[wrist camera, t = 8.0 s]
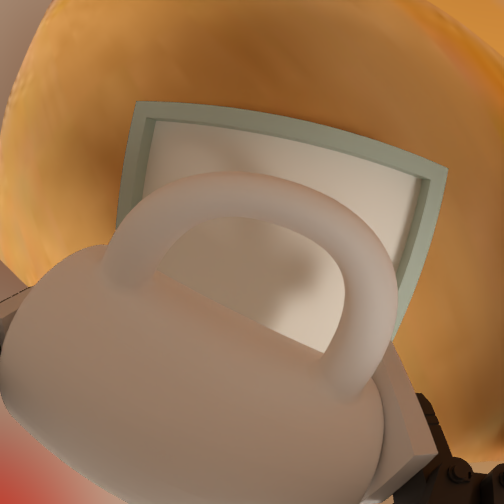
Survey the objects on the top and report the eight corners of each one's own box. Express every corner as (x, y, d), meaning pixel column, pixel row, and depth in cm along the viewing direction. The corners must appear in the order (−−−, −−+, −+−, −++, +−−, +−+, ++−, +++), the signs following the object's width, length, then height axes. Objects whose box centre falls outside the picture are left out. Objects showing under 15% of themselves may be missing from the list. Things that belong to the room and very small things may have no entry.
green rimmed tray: (404, 170, 19) (448, 168, 12) (338, 366, 24) (346, 422, 17) (183, 120, 21) (136, 101, 14) (155, 316, 26) (115, 356, 19)
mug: (274, 436, 13) (250, 562, 5) (111, 355, 13) (22, 447, 6) (415, 247, 9) (562, 364, 2) (181, 129, 10) (-4, 80, 2)
